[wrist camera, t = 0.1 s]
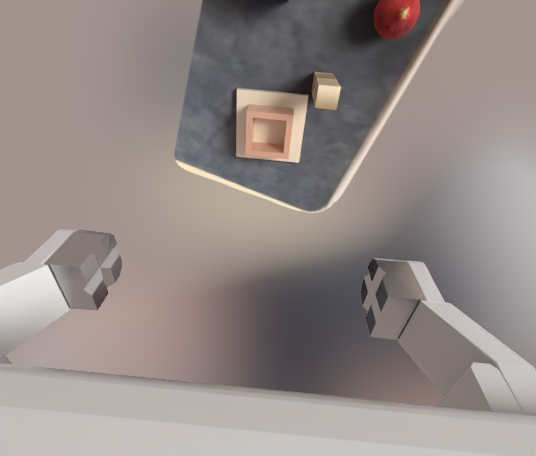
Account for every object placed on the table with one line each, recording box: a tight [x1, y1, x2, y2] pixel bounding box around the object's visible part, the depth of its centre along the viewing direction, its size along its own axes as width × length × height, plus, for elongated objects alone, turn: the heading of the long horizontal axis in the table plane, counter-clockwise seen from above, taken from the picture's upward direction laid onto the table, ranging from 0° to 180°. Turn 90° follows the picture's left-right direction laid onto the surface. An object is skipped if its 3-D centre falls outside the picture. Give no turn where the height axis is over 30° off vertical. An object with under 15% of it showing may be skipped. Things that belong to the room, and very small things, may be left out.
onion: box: [373, 0, 420, 39], centre depth 41 cm, size 6×6×8 cm
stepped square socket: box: [236, 88, 308, 163], centre depth 53 cm, size 12×12×5 cm
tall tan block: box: [312, 72, 341, 110], centre depth 46 cm, size 3×3×10 cm
